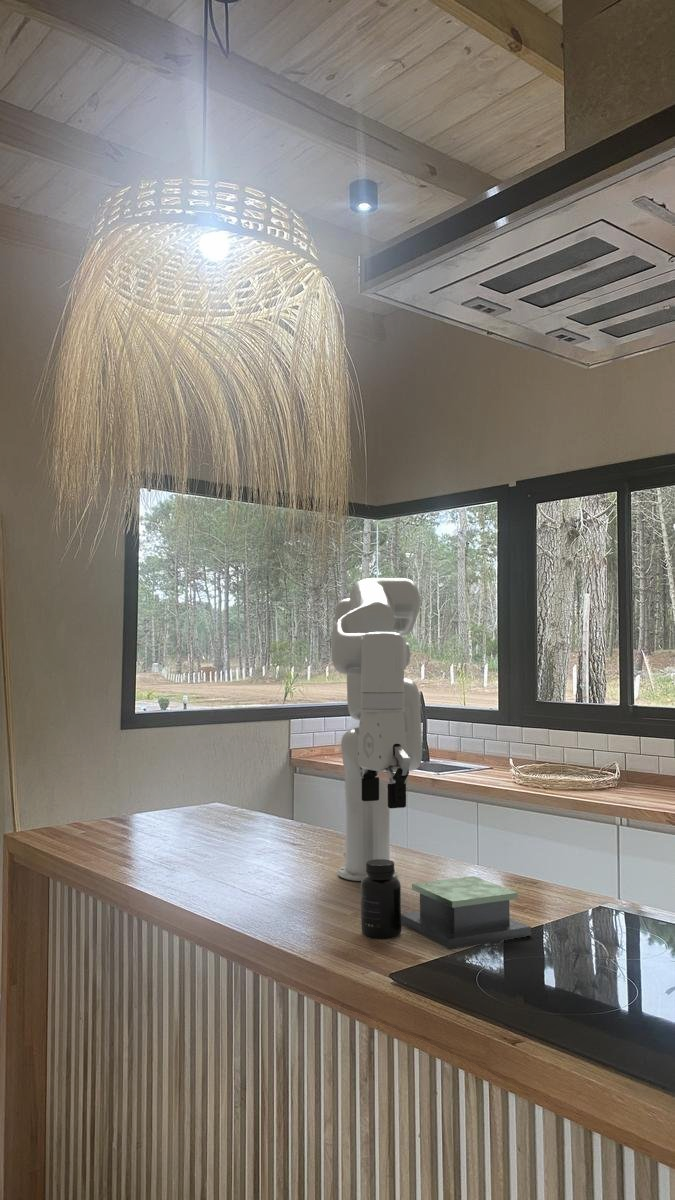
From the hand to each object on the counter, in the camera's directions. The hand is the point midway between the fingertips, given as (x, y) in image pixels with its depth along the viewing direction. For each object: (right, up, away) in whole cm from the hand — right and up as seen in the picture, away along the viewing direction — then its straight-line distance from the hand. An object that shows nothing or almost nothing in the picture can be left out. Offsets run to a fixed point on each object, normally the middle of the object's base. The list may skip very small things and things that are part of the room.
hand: (383, 804), depth 154 cm
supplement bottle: (-1, -22, -2) cm, 22 cm away
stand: (+14, -22, 0) cm, 26 cm away
